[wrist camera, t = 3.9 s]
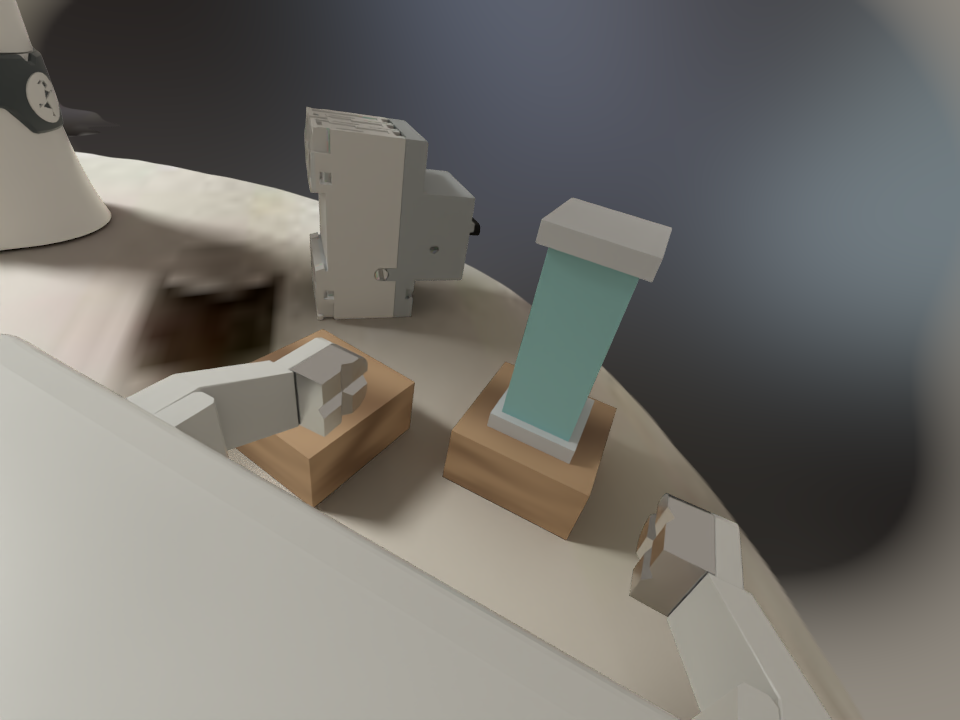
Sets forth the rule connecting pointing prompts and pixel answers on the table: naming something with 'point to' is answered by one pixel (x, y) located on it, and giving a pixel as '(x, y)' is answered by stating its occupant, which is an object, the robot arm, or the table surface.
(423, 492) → the table surface
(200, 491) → the robot arm
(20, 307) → the table surface
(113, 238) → the table surface
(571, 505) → the stand
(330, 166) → the circuit breaker
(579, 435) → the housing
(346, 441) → the stand
